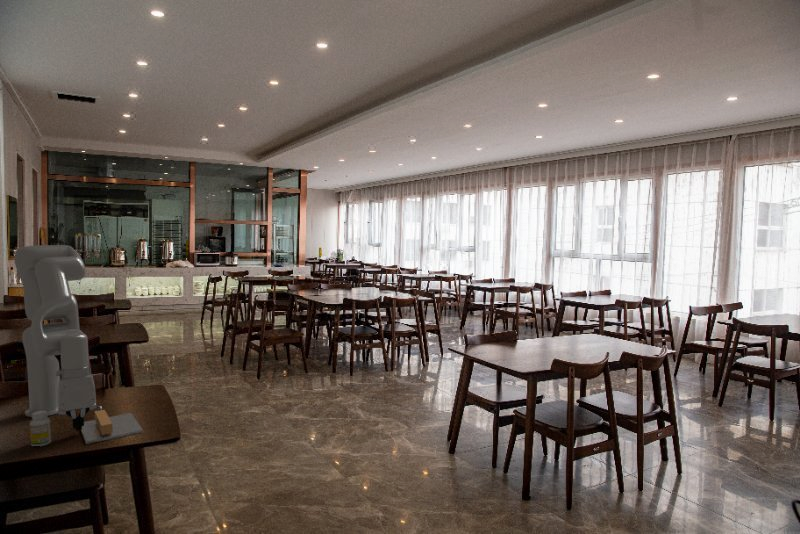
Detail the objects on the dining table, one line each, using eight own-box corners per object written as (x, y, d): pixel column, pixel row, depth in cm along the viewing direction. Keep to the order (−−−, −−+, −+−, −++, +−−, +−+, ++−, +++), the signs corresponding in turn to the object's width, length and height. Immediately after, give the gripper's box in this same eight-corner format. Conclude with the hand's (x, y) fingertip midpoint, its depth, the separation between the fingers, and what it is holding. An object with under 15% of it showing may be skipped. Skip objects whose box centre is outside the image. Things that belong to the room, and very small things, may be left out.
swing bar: (94, 420, 182) (94, 411, 182) (104, 418, 184) (104, 409, 184) (102, 435, 169) (101, 425, 169) (112, 432, 171) (112, 423, 171)
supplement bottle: (44, 447, 164) (42, 416, 163) (26, 447, 164) (24, 416, 163) (55, 440, 169) (53, 410, 168) (38, 440, 169) (36, 410, 169)
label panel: (78, 425, 182) (77, 409, 181) (131, 415, 191) (130, 399, 191) (86, 444, 166) (85, 426, 165) (143, 432, 175) (142, 415, 175)
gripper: (48, 379, 164) (51, 438, 166) (104, 371, 173) (106, 427, 174) (46, 374, 170) (50, 431, 172) (100, 366, 179) (103, 420, 180)
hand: (78, 429), depth 173 cm, fingers closed
